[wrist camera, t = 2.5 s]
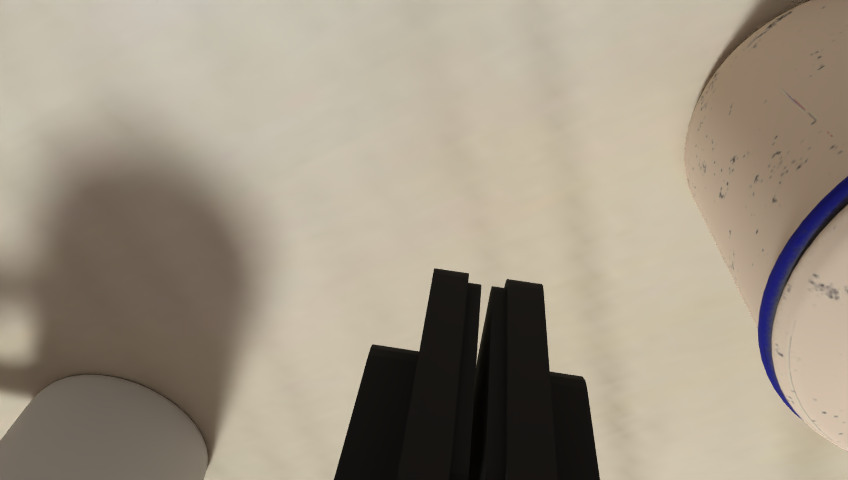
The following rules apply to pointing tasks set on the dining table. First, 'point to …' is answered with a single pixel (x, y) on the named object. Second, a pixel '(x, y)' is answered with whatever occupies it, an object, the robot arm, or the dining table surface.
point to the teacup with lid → (784, 199)
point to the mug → (102, 435)
